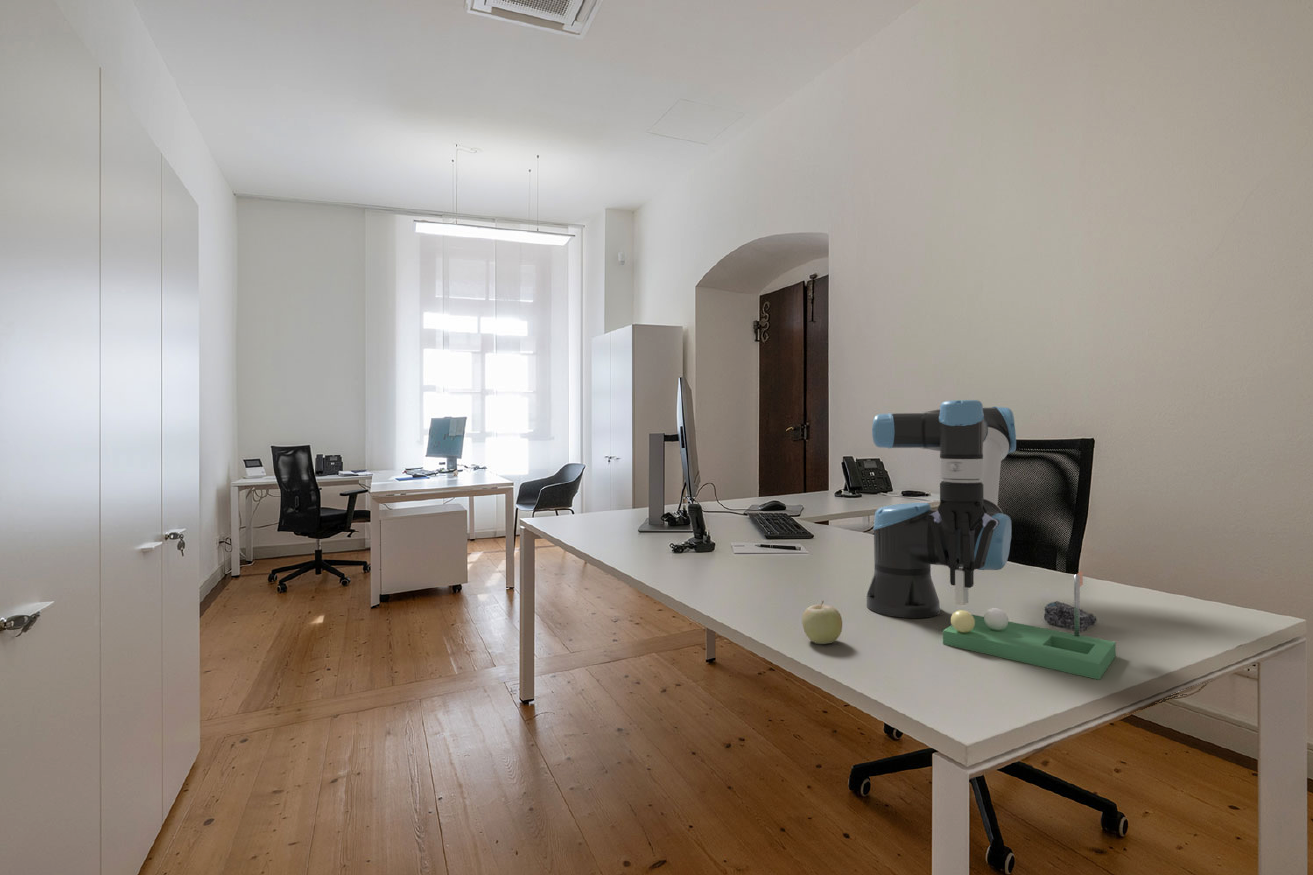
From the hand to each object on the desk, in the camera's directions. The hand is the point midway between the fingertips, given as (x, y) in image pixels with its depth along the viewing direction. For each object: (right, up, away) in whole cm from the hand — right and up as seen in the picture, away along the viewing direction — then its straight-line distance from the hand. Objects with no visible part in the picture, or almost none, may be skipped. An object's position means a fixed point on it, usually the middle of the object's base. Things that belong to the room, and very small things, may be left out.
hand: (961, 603), depth 119 cm
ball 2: (+4, -2, -4) cm, 6 cm away
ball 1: (-2, -2, -5) cm, 6 cm away
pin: (+18, -4, -6) cm, 20 cm away
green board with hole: (+8, -6, -7) cm, 13 cm away
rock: (+26, -7, +8) cm, 27 cm away
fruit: (-27, -7, -2) cm, 28 cm away
